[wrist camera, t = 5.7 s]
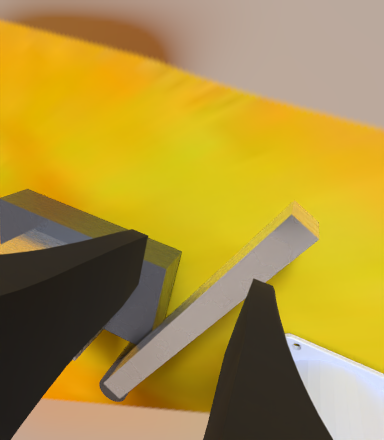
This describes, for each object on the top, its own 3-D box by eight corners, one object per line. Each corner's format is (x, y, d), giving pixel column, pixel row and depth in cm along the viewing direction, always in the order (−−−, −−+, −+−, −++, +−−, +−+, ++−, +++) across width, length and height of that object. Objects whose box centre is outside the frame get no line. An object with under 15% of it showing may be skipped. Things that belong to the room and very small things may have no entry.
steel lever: (321, 207, 17) (323, 243, 13) (148, 356, 26) (115, 406, 22) (294, 182, 17) (287, 210, 13) (130, 339, 26) (93, 386, 22)
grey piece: (181, 251, 21) (166, 269, 19) (162, 327, 24) (147, 350, 22) (27, 189, 24) (-1, 198, 22) (26, 263, 27) (1, 278, 25)
